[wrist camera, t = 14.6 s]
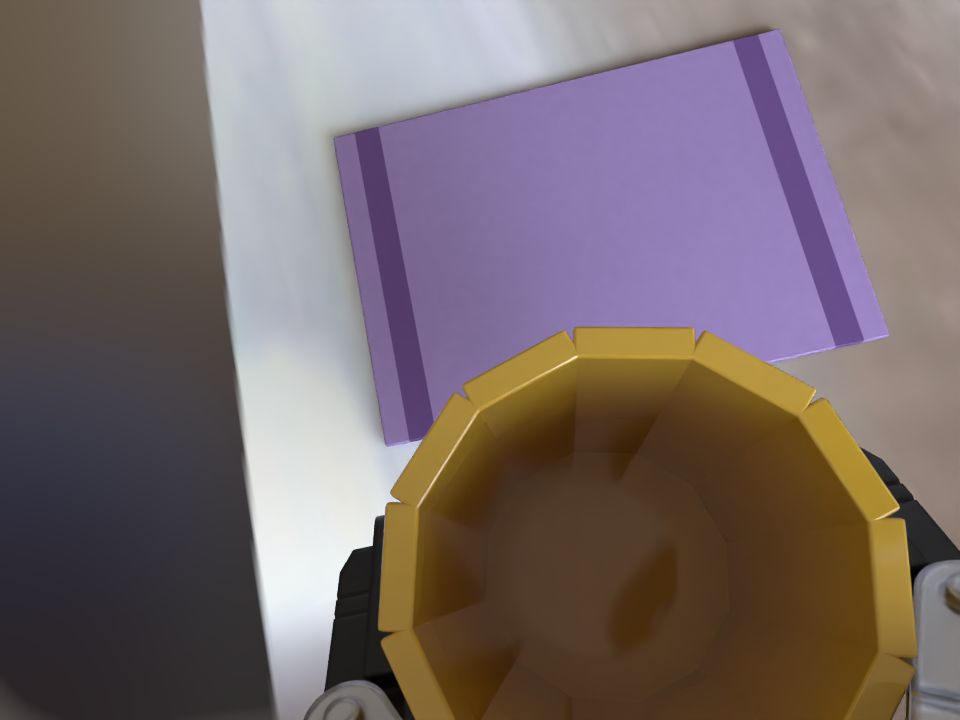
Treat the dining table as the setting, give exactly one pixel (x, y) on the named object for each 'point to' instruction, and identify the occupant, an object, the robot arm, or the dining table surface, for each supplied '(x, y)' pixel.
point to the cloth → (601, 222)
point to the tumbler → (644, 544)
